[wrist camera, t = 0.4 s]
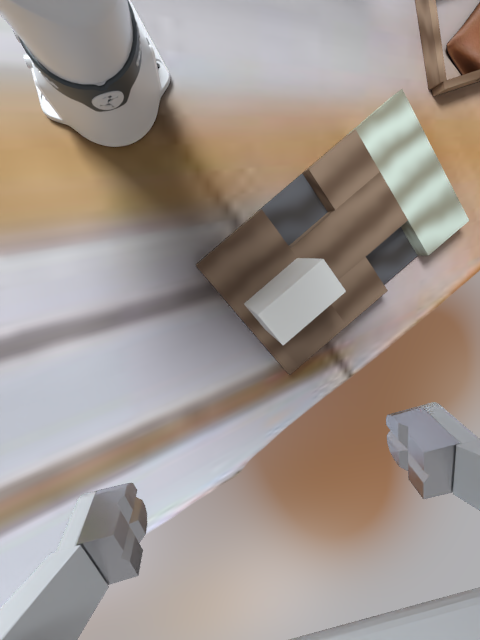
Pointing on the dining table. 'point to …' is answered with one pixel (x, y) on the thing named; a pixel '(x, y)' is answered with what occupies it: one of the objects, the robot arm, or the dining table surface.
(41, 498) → the dining table surface
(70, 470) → the dining table surface
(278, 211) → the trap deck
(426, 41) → the tray rim
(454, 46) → the sunglasses case
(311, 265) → the block
